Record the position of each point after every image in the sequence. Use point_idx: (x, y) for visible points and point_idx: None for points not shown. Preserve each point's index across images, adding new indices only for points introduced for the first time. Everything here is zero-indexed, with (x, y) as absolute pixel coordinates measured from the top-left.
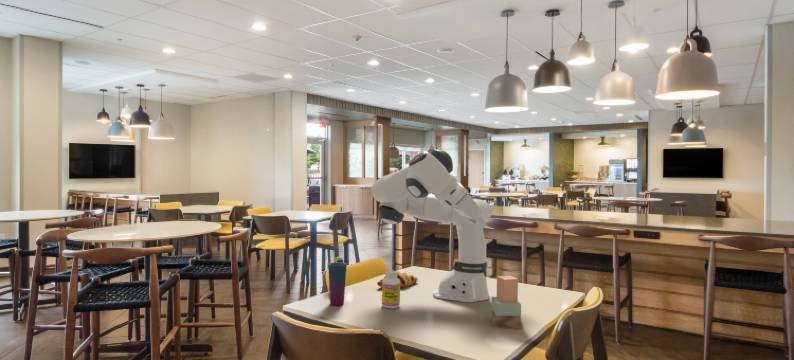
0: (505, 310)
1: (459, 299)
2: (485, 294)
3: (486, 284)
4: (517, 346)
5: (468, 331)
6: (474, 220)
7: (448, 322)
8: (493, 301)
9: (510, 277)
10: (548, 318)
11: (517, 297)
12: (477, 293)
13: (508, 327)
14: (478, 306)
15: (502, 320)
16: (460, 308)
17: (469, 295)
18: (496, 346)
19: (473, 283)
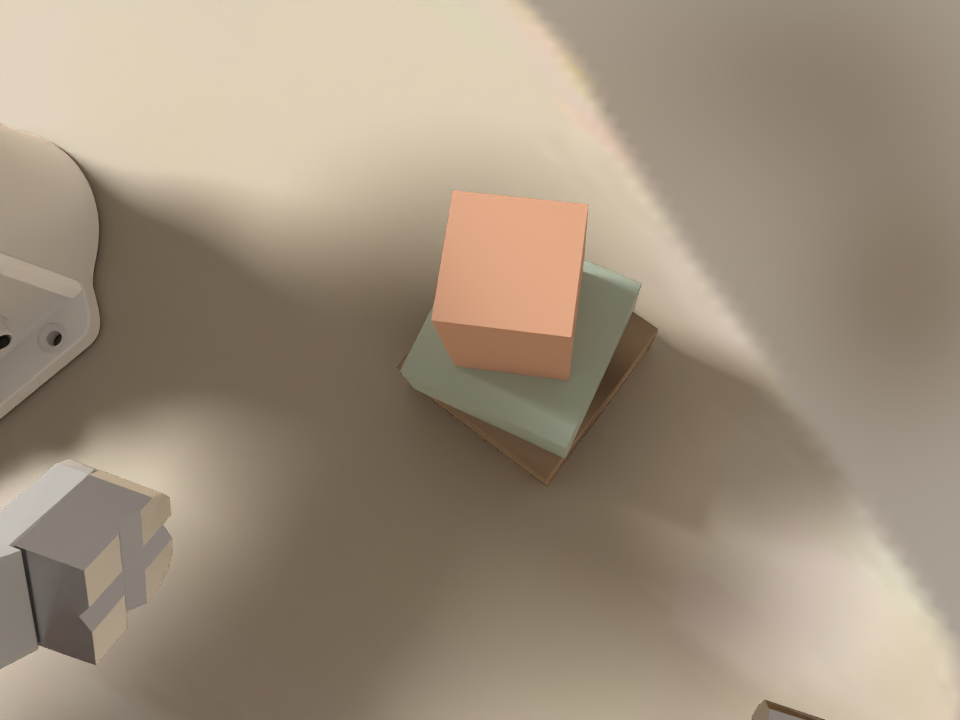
0: (592, 395)
1: (26, 387)
2: (69, 189)
3: (6, 135)
4: (890, 552)
5: (568, 687)
6: (123, 571)
7: (370, 717)
8: (468, 405)
9: (517, 233)
10: (553, 71)
11: (583, 262)
12: (60, 255)
13: (607, 403)
14: (181, 329)
15: (586, 427)
16: (162, 469)
17: (35, 308)
18: (851, 675)
19: (6, 262)
